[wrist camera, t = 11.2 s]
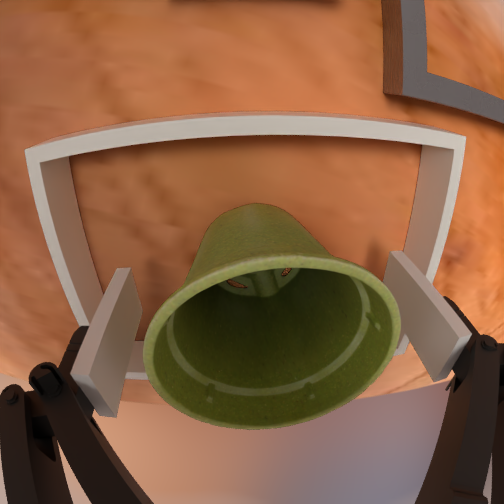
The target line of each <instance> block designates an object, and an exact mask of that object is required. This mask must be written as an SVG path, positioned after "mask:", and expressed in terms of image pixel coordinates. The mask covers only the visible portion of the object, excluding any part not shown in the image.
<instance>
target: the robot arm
mask: <svg viewBox="0 0 504 504" xmlns="http://www.w3.org/2000/svg"><path fill="white" fill-rule="evenodd" d="M383 283H384V284H385V285H386V286H387V288H388V289H389V290H390V292H391V293H392V294H393V296H394V298H395V300H396V302H397V304H398V308H399V312H400V318H401V328H402V329H403V331H404V332H405V334H406V336H407V337H408V339H409V341H410V342H411V344H412V346H413V347H414V349H415V351H416V352H417V354H418V356H419V357H420V359H421V361H422V363H423V364H424V366H425V368H426V370H427V371H428V373H429V375H430V377H431V378H432V380H433V382H436V381H439V380H442V379H445V378H447V376H448V375H449V373H450V371H451V370H453V371H454V373H455V375H454V377H453V378H452V380H451V381H450V383H449V384H448V386H447V387H446V390H448V389H449V387H450V386H451V388H450V393H449V398H448V403H447V407H446V412H445V415H444V419H443V423H442V427H441V431H440V435H439V438H438V442H437V444H436V448H435V451H434V454H433V457H432V460H431V463H430V466H429V469H428V472H427V474H426V477H425V480H424V482H423V485H422V488H421V490H420V492H419V495H418V497H417V500H416V502H415V504H488V500H487V498H486V497H484V496H483V489H484V485H485V481H486V477H487V473H488V468H489V464H490V458H491V453H492V493H491V494H492V495H491V504H504V343H497V342H496V340H495V339H494V338H492V337H491V336H488V335H484V334H483V335H480V334H479V333H478V331H477V330H476V329H475V328H474V326H473V325H472V324H471V322H470V321H469V320H468V319H467V317H466V316H464V314H463V312H462V311H461V310H459V308H458V306H457V305H456V304H455V303H454V302H453V301H452V300H450V299H449V298H447V297H446V296H444V297H442V296H441V294H440V293H439V292H438V291H437V290H436V288H435V287H434V286H433V285H432V284H431V283H430V281H429V280H428V279H427V278H426V277H425V276H424V275H423V273H422V272H421V271H420V270H419V269H418V268H417V267H416V266H415V265H414V263H413V262H412V261H411V260H410V259H409V258H408V257H407V256H406V255H405V254H404V253H403V252H402V250H401V251H390V252H389V257H388V261H387V266H386V270H385V274H384V278H383ZM142 313H143V309H142V306H141V302H140V299H139V295H138V292H137V288H136V284H135V281H134V277H133V273H132V269H131V267H129V268H117V269H116V271H115V273H114V275H113V277H112V279H111V281H110V283H109V285H108V287H107V289H106V291H105V293H104V295H103V298H102V300H101V302H100V304H99V306H98V308H97V310H96V313H95V315H94V317H93V319H92V322H91V324H90V326H80V327H79V328H78V329H77V330H76V331H75V332H74V334H73V336H72V338H71V340H70V342H69V343H70V344H69V345H68V347H67V349H66V351H65V354H64V356H63V358H62V361H61V363H60V365H59V368H57V367H56V365H55V364H53V363H51V362H44V363H41V364H39V365H37V366H36V367H34V368H33V370H32V371H31V372H30V375H29V384H30V385H31V386H32V388H33V389H34V390H33V391H27V392H25V391H24V390H23V389H22V388H21V386H19V385H17V384H12V385H9V386H7V387H6V388H5V389H4V390H3V391H2V393H1V395H0V449H1V461H2V470H3V477H4V484H5V490H6V496H7V501H8V504H73V501H72V498H71V495H70V492H69V488H68V485H67V481H66V477H65V473H64V469H63V466H62V461H61V457H60V452H59V447H58V443H59V445H60V447H61V449H62V451H63V453H64V455H65V457H66V459H67V461H68V463H69V465H70V467H71V469H72V471H73V473H74V474H75V476H76V478H77V480H78V482H79V483H80V485H81V487H82V488H83V490H84V492H85V493H86V495H87V497H88V498H89V500H90V502H91V503H92V504H154V503H153V502H152V501H151V500H150V498H149V497H148V496H147V495H146V493H145V492H144V491H143V490H142V488H141V487H140V486H139V485H138V484H137V482H136V481H135V479H134V478H133V477H132V475H131V474H130V473H129V471H128V470H127V469H126V467H125V466H124V464H123V463H122V462H121V460H120V459H119V457H118V456H117V455H116V453H115V451H114V450H113V448H112V447H111V445H110V444H109V442H108V441H107V439H106V437H105V436H104V434H103V433H102V431H101V429H100V428H99V426H98V424H97V423H96V421H95V419H94V418H93V417H92V414H93V411H94V409H95V410H96V412H97V413H98V414H99V415H100V416H107V417H117V413H118V408H119V403H120V399H121V394H122V390H123V385H124V381H125V377H126V373H127V369H128V365H129V361H130V357H131V353H132V349H133V345H134V341H135V338H136V334H137V330H138V327H139V323H140V320H141V316H142ZM57 440H58V442H57Z"/></svg>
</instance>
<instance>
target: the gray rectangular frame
mask: <svg viewBox="0 0 504 504" xmlns="http://www.w3.org/2000/svg"><path fill="white" fill-rule="evenodd" d="M239 135H322V136H343V137H358V138H371V139H382V140H392V141H401V142H409V143H417V144H422V152H421V160H420V167H419V174H418V180H417V187H416V193H415V198H414V204H413V209H412V214H411V219H410V224H409V229H408V233H407V238H406V242H405V246H404V250H403V253H404V254H405V255H406V256H407V257H408V258H409V259H410V260H411V261H412V262H413V263H414V265H415V266H416V267H417V268H418V269H419V270H420V271H421V272H422V273H423V275H424V276H425V277H426V278H427V279H428V280H429V281H430V283H431V284H432V283H433V280H434V277H435V274H436V271H437V268H438V265H439V262H440V259H441V255H442V252H443V249H444V245H445V242H446V238H447V234H448V231H449V227H450V223H451V219H452V215H453V210H454V206H455V201H456V197H457V192H458V187H459V182H460V176H461V170H462V164H463V158H464V151H465V143H466V137H465V136H462V135H460V134H457V133H454V132H450V131H447V130H444V129H441V128H438V127H434V126H429V125H424V124H418V123H412V122H406V121H400V120H393V119H385V118H377V117H369V116H359V115H349V114H337V113H321V112H299V111H241V112H218V113H203V114H190V115H180V116H170V117H161V118H153V119H146V120H139V121H132V122H126V123H120V124H114V125H108V126H103V127H98V128H93V129H88V130H83V131H79V132H74V133H70V134H66V135H62V136H58V137H54V138H51V139H49V140H46V141H44V142H41V143H39V144H36V145H34V146H32V147H29V148H27V149H25V156H26V162H27V167H28V172H29V177H30V182H31V186H32V191H33V195H34V199H35V203H36V207H37V211H38V215H39V218H40V222H41V225H42V229H43V232H44V236H45V239H46V242H47V245H48V248H49V251H50V254H51V257H52V260H53V263H54V266H55V269H56V271H57V274H58V277H59V279H60V282H61V284H62V287H63V290H64V292H65V295H66V297H67V299H68V302H69V304H70V306H71V309H72V311H73V313H74V316H75V318H76V320H77V322H78V324H79V327H80V326H90V324H91V322H92V319H93V317H94V315H95V313H96V310H97V308H98V306H99V304H100V302H101V300H102V298H103V292H102V289H101V286H100V283H99V280H98V277H97V273H96V270H95V267H94V264H93V261H92V257H91V254H90V250H89V247H88V243H87V240H86V236H85V232H84V228H83V224H82V220H81V216H80V212H79V208H78V203H77V199H76V194H75V189H74V184H73V179H72V174H71V168H70V162H69V156H71V155H76V154H81V153H86V152H91V151H97V150H103V149H109V148H115V147H121V146H128V145H135V144H143V143H151V142H159V141H169V140H179V139H190V138H203V137H218V136H239ZM143 344H144V341H134V345H133V349H132V353H131V357H130V361H129V365H128V369H127V373H126V377H125V379H139V380H149V379H148V377H147V374H146V372H145V368H144V364H143ZM408 344H409V339H408V337H407V336H406V334H405V332H404V331H403V329H402V328H401V331H400V336H399V340H398V344H397V348H396V351H395V353H394V355H393V356H396V355H400V354H404V352H405V350H406V348H407V346H408Z"/></svg>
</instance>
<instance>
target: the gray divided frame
mask: <svg viewBox="0 0 504 504" xmlns="http://www.w3.org/2000/svg"><path fill="white" fill-rule="evenodd" d="M382 15H383V39H384V83H383V93H387V94H393V95H399V96H404V97H409V98H414V99H418V100H423V101H427V102H431V103H436V104H440V105H444V106H447V107H451V108H455V109H458V110H462V111H465V112H469V113H472V114H475V115H478V116H481V117H484V118H487V119H490V120H493V121H496V122H499V123H502V124H504V100H502V99H500V98H497V97H495V96H493V95H490V94H488V93H485V92H483V91H481V90H478V89H475V88H473V87H470V86H467V85H465V84H462V83H459V82H456V81H453V80H450V79H447V78H444V77H441V76H437V75H434V74H431V73H427V37H426V19H425V6H424V0H382Z"/></svg>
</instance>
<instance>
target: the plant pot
mask: <svg viewBox="0 0 504 504" xmlns="http://www.w3.org/2000/svg"><path fill="white" fill-rule="evenodd" d="M285 268H292V269H291V271H290V272H289V273H288V274H287V275H286V276H282V272H283V271H284V270H285ZM228 279H231V280H233V281H235V282H237V283H239V284H243V285H244V286H247V287H248V288H247V287H246V288H237V287H234V286H232V285H230V284H228V283H227V280H228ZM400 331H401V318H400V312H399V308H398V304H397V302H396V300H395V298H394V296H393V294H392V293H391V292H390V290H389V289H388V288H387V286H386V285H385V284H384V283H383V282H382V281H380V280H379V279H378V278H377V277H376V276H375V275H374V274H372V273H371V272H370V271H368V270H367V269H365V268H363V267H361V266H359V265H357V264H355V263H353V262H350V261H347V260H344V259H341V258H337V257H334V256H332V255H331V254H330V253H329V252H328V251H327V250H326V249H325V248H324V247H323V246H322V245H321V244H320V243H319V242H318V241H317V240H316V239H315V238H314V237H313V236H312V235H311V234H310V233H309V232H308V231H307V230H306V229H305V228H304V227H303V226H302V225H301V224H300V223H299V222H298V221H297V220H296V219H295V218H294V217H292V216H291V215H290V214H289V213H287V212H286V211H284V210H282V209H280V208H278V207H275V206H272V205H267V204H259V203H254V204H248V205H244V206H241V207H238V208H235V209H233V210H230V211H228V212H225V213H223V214H222V215H220V216H219V217H218V218H217V219H216V220H215V221H214V222H213V223H212V224H211V225H210V226H209V228H208V229H207V231H206V233H205V235H204V237H203V240H202V242H201V244H200V247H199V249H198V252H197V254H196V257H195V259H194V262H193V264H192V266H191V269H190V271H189V273H188V276H187V278H186V280H185V283H184V284H183V285H182V287H180V288H179V289H178V290H176V291H175V292H174V293H173V294H172V295H170V297H169V298H168V299H167V300H166V301H165V302H164V303H163V304H162V305H161V307H160V308H159V309H158V310H157V312H156V313H155V315H154V317H153V318H152V320H151V322H150V324H149V327H148V329H147V332H146V336H145V340H144V344H143V364H144V368H145V372H146V374H147V377H148V379H149V381H150V383H151V385H152V386H153V388H154V389H155V390H156V392H157V393H158V394H159V395H160V396H161V397H162V398H163V399H164V400H165V401H166V402H167V403H168V404H170V405H171V406H172V407H174V408H175V409H177V410H178V411H180V412H182V413H184V414H186V415H188V416H190V417H192V418H194V419H196V420H199V421H202V422H205V423H209V424H212V425H215V426H220V427H226V428H235V429H247V430H252V429H253V430H255V429H256V430H259V429H271V428H281V427H286V426H291V425H295V424H299V423H303V422H307V421H310V420H313V419H315V418H318V417H321V416H323V415H325V414H327V413H329V412H331V411H333V410H335V409H337V408H339V407H341V406H343V405H345V404H347V403H348V402H350V401H351V400H353V399H355V398H356V397H357V396H359V395H360V394H361V393H362V392H364V391H365V390H366V389H367V388H368V387H369V386H370V385H371V384H372V383H374V382H375V380H376V379H377V378H378V377H379V376H380V375H381V374H382V372H383V371H384V369H385V367H386V366H387V365H388V364H389V362H390V361H391V359H392V357H393V355H394V353H395V351H396V348H397V344H398V340H399V336H400Z"/></svg>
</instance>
